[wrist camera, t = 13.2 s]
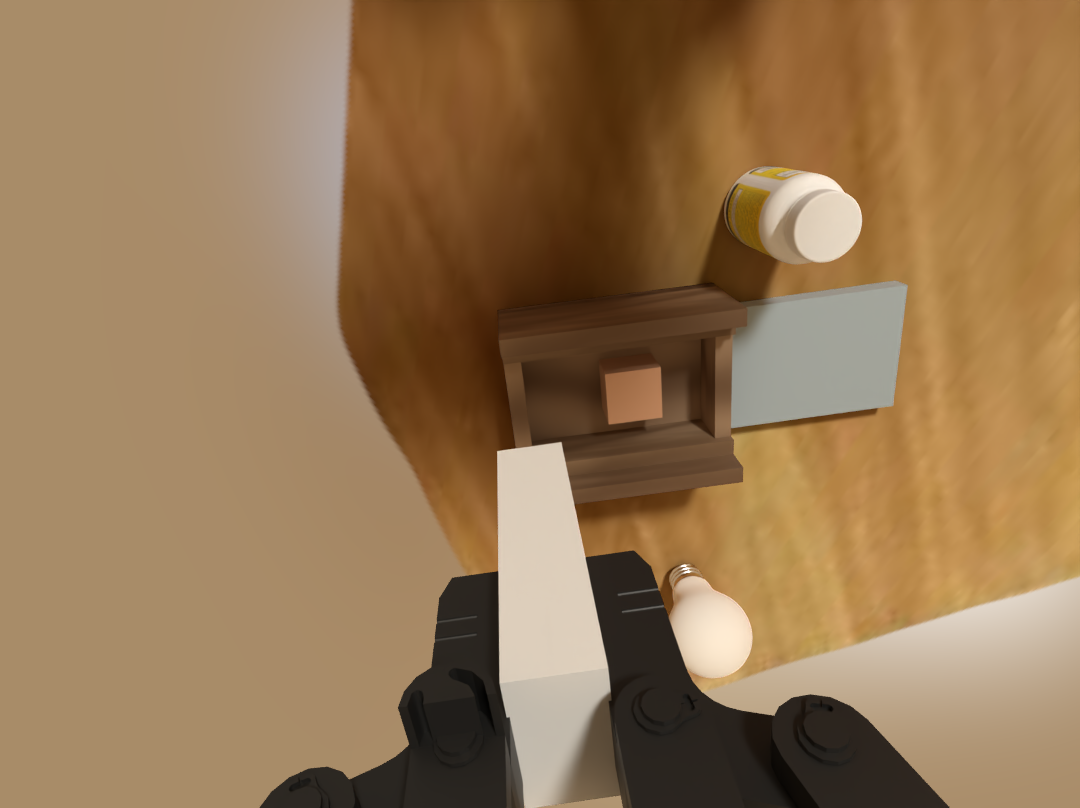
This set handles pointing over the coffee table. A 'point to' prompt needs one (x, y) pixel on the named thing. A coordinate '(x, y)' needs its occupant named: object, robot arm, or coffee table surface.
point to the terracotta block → (631, 388)
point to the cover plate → (817, 353)
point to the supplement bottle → (792, 215)
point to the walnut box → (575, 392)
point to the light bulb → (707, 625)
